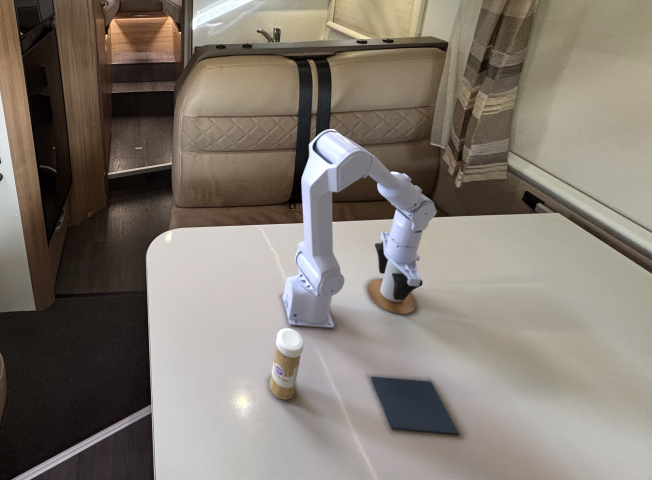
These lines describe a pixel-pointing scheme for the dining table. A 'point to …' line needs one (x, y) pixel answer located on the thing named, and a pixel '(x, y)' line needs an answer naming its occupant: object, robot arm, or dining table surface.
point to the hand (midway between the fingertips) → (391, 285)
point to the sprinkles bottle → (286, 363)
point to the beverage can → (389, 282)
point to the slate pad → (413, 406)
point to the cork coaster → (393, 307)
